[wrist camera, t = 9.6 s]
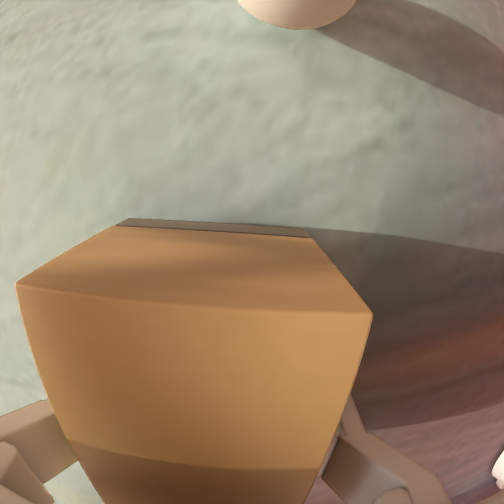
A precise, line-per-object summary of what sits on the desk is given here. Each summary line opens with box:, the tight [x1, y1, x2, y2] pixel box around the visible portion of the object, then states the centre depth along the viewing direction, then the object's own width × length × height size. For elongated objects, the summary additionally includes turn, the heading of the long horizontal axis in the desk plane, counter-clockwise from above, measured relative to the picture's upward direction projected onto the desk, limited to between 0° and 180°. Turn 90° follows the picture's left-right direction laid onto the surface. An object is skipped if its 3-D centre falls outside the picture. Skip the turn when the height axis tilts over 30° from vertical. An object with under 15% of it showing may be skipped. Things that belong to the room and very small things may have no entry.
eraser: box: [15, 218, 373, 504], centre depth 6 cm, size 4×8×4 cm, turn 176°
